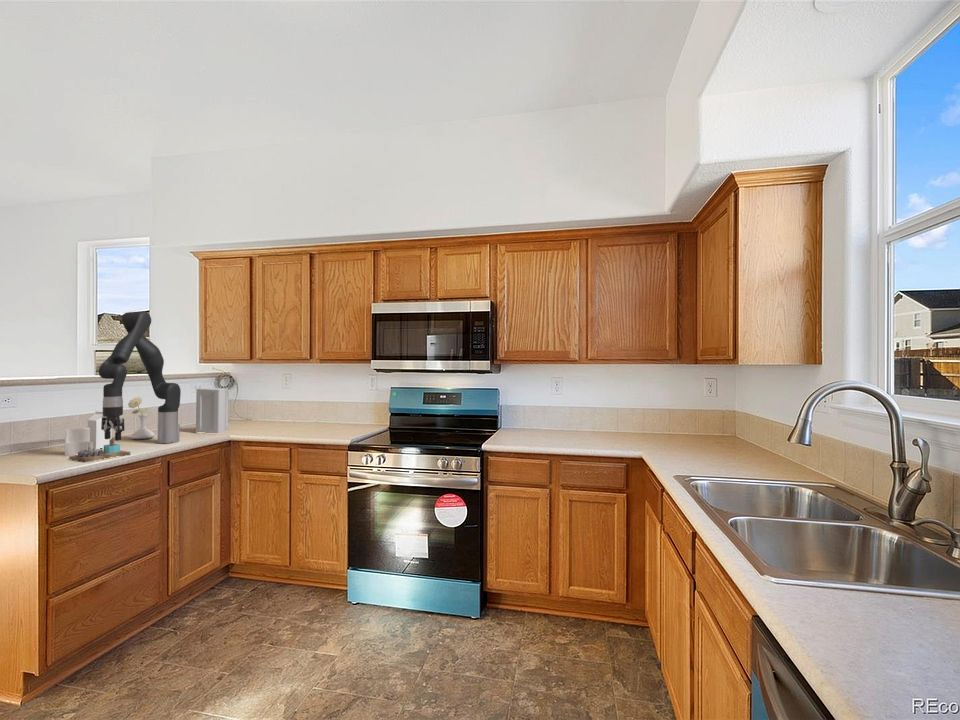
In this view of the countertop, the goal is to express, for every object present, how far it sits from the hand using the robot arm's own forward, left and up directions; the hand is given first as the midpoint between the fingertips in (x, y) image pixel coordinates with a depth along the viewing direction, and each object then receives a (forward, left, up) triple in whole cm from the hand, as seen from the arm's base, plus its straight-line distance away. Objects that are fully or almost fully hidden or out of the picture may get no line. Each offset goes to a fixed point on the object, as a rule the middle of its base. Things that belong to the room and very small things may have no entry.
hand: (112, 439), depth 215 cm
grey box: (-70, -24, -8) cm, 75 cm away
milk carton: (-7, -26, -8) cm, 28 cm away
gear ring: (0, 0, -6) cm, 6 cm away
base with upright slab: (+5, -20, -8) cm, 22 cm away
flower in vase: (-34, -39, -8) cm, 53 cm away
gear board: (+5, 0, -8) cm, 9 cm away
